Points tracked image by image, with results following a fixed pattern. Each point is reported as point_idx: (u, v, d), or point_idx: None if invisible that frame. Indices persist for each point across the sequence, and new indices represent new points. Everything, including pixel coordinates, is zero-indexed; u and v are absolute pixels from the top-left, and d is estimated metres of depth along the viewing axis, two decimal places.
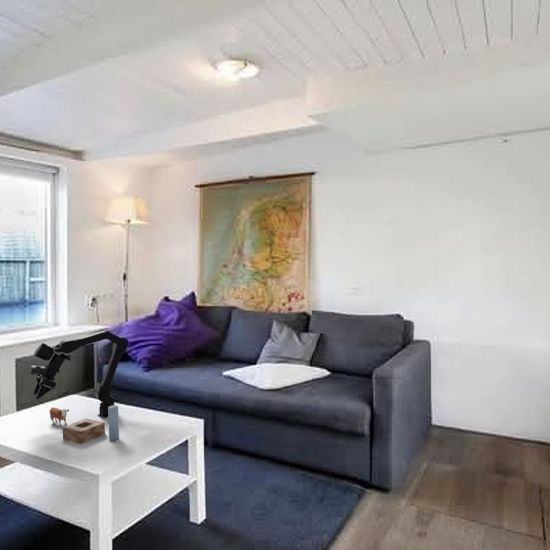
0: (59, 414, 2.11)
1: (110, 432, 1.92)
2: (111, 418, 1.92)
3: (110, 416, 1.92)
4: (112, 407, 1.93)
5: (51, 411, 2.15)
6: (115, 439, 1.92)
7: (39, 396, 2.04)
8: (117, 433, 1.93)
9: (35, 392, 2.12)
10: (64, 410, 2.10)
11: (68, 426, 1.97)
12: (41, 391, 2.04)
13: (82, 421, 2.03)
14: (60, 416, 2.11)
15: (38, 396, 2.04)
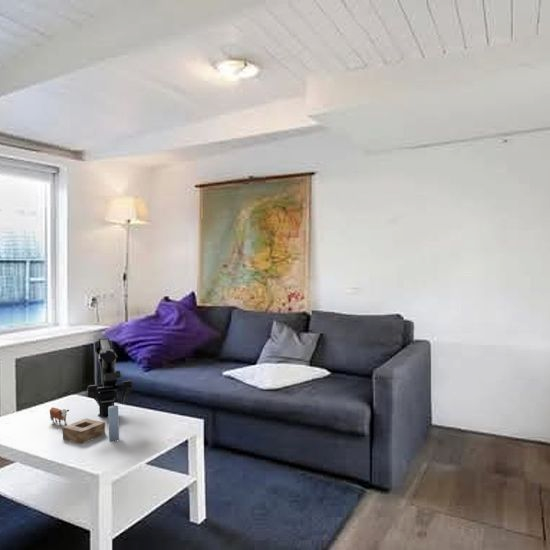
0: (59, 414, 2.11)
1: (110, 432, 1.92)
2: (111, 418, 1.92)
3: (110, 416, 1.92)
4: (112, 407, 1.93)
5: (51, 411, 2.15)
6: (115, 439, 1.92)
7: (123, 401, 2.03)
8: (117, 433, 1.93)
9: (100, 405, 1.99)
10: (64, 410, 2.10)
11: (68, 426, 1.97)
12: None
13: (82, 421, 2.03)
14: (60, 416, 2.11)
15: (123, 401, 2.03)
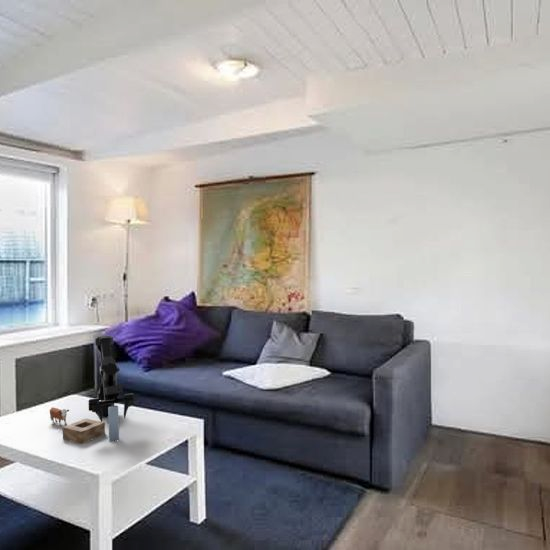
0: (59, 414, 2.11)
1: (110, 432, 1.92)
2: (111, 418, 1.92)
3: (110, 416, 1.92)
4: (112, 407, 1.93)
5: (51, 411, 2.15)
6: (115, 439, 1.92)
7: (125, 414, 1.98)
8: (117, 433, 1.93)
9: None
10: (64, 410, 2.10)
11: (68, 426, 1.97)
12: None
13: (82, 421, 2.03)
14: (60, 416, 2.11)
15: (125, 414, 1.97)
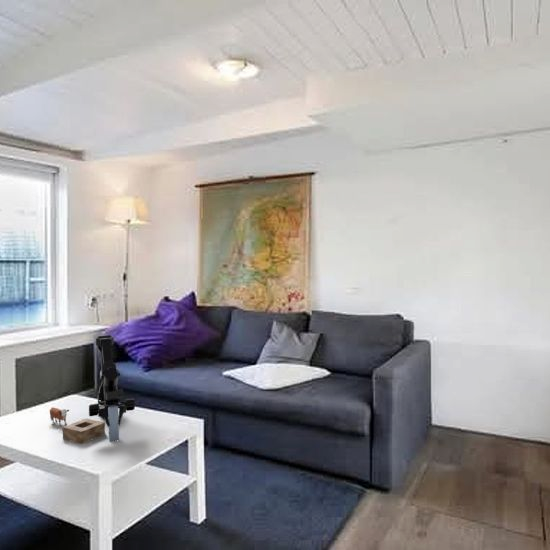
0: (59, 414, 2.11)
1: (110, 432, 1.92)
2: (111, 418, 1.92)
3: (110, 416, 1.92)
4: (112, 407, 1.93)
5: (51, 411, 2.15)
6: (115, 439, 1.92)
7: (120, 421, 1.95)
8: (117, 433, 1.93)
9: (108, 424, 1.92)
10: (64, 410, 2.10)
11: (68, 426, 1.97)
12: None
13: (82, 421, 2.03)
14: (60, 416, 2.11)
15: (120, 421, 1.94)
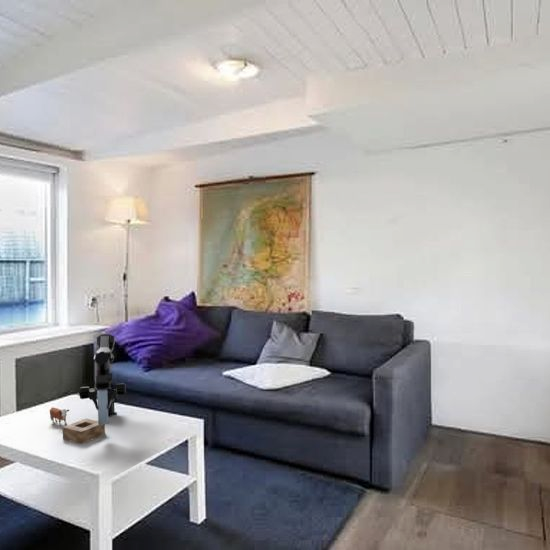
0: (59, 414, 2.11)
1: (99, 415, 1.93)
2: (99, 402, 1.92)
3: (98, 399, 1.92)
4: (101, 391, 1.93)
5: (51, 411, 2.15)
6: (104, 423, 1.93)
7: (109, 405, 1.95)
8: (106, 417, 1.94)
9: (97, 407, 1.93)
10: (64, 410, 2.10)
11: (68, 426, 1.97)
12: (111, 399, 1.96)
13: (82, 421, 2.03)
14: (60, 416, 2.11)
15: (109, 405, 1.95)
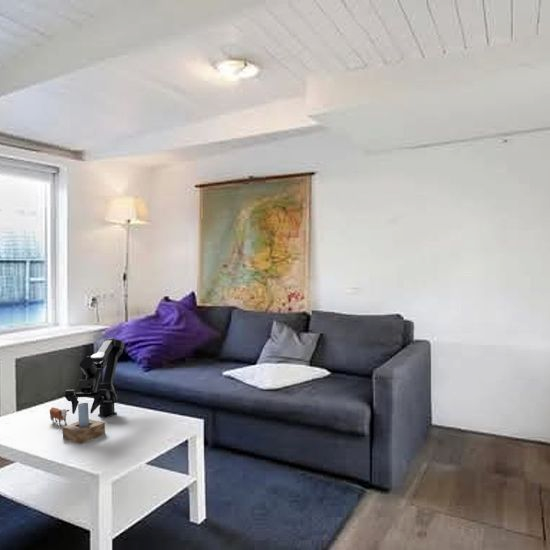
0: (59, 414, 2.11)
1: None
2: (79, 415, 1.97)
3: (78, 413, 1.97)
4: (81, 404, 1.98)
5: (51, 411, 2.15)
6: None
7: (93, 410, 1.98)
8: None
9: (74, 411, 1.97)
10: (64, 410, 2.10)
11: (68, 426, 1.97)
12: (95, 404, 1.99)
13: None
14: (60, 416, 2.11)
15: (93, 410, 1.98)
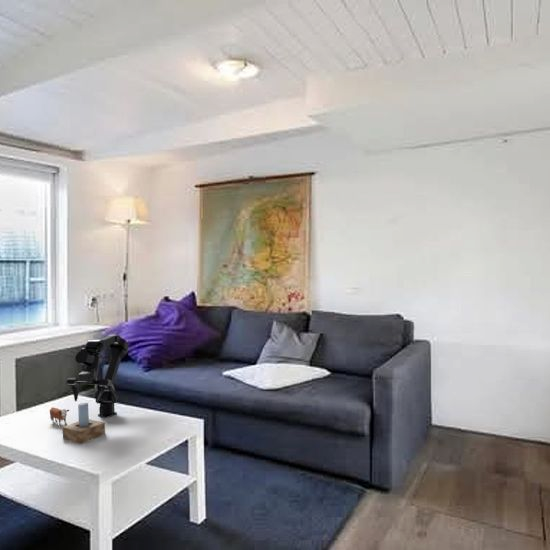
0: (59, 414, 2.11)
1: None
2: (79, 415, 1.97)
3: (78, 413, 1.97)
4: (81, 404, 1.98)
5: (51, 411, 2.15)
6: None
7: (98, 398, 2.08)
8: None
9: (76, 399, 2.07)
10: (64, 410, 2.10)
11: (68, 426, 1.97)
12: (100, 393, 2.08)
13: None
14: (60, 416, 2.11)
15: (97, 399, 2.07)
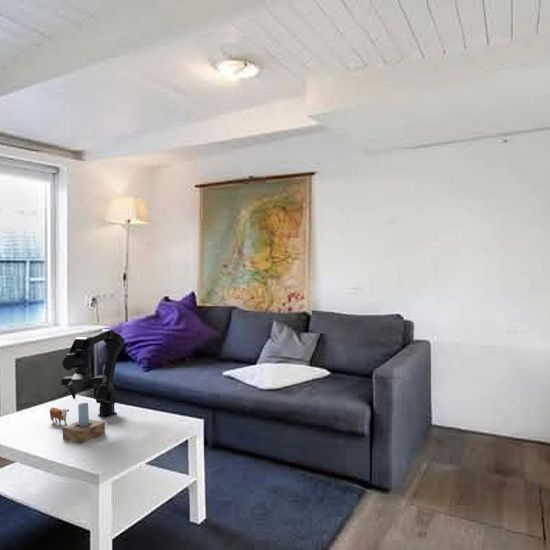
0: (59, 414, 2.11)
1: None
2: (79, 415, 1.97)
3: (78, 413, 1.97)
4: (81, 404, 1.98)
5: (51, 411, 2.15)
6: None
7: (96, 394, 2.10)
8: None
9: (74, 396, 2.09)
10: (64, 410, 2.10)
11: (68, 426, 1.97)
12: (97, 390, 2.09)
13: None
14: (60, 416, 2.11)
15: (95, 395, 2.09)
